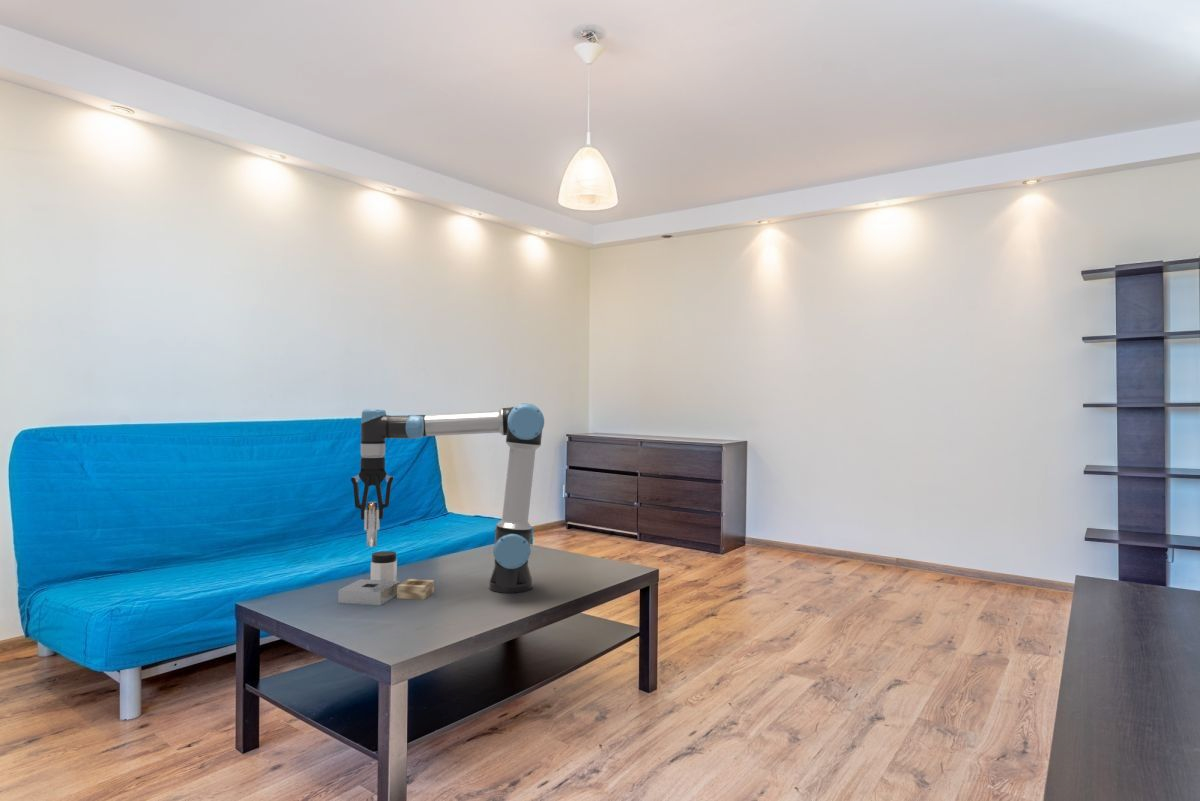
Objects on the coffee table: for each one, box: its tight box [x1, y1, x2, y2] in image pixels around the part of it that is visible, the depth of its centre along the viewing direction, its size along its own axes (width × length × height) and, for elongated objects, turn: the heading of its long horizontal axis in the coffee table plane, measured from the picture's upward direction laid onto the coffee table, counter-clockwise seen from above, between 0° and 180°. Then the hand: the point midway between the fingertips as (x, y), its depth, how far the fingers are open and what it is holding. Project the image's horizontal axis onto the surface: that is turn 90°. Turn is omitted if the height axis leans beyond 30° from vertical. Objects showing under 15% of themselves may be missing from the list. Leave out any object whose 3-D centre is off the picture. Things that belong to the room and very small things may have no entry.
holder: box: [396, 578, 435, 601], centre depth 221 cm, size 9×9×5 cm
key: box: [366, 501, 378, 548], centre depth 218 cm, size 7×3×14 cm, turn 12°
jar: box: [369, 550, 398, 581], centre depth 233 cm, size 9×8×12 cm
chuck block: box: [337, 578, 401, 606], centre depth 217 cm, size 14×14×5 cm
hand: (371, 529), depth 218 cm, fingers closed on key, 3 cm apart
